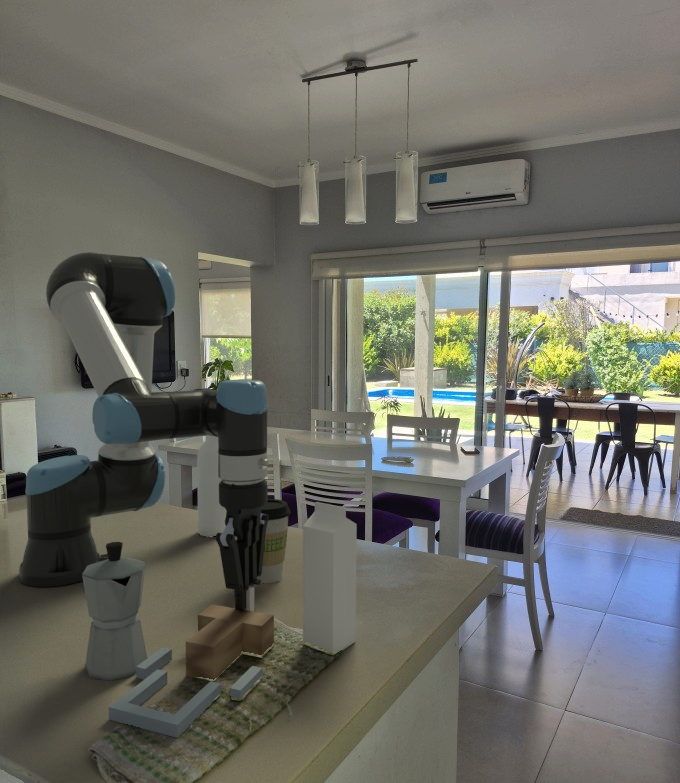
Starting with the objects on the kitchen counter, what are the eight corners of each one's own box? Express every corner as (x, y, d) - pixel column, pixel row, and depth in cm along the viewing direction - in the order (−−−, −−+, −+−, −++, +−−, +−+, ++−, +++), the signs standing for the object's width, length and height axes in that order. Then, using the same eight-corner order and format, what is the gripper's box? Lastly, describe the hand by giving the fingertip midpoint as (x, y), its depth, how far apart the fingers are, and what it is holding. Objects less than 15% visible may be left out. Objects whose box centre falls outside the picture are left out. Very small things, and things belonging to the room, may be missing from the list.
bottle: (218, 526, 159) (217, 410, 156) (236, 532, 153) (235, 412, 151) (191, 532, 153) (189, 412, 151) (209, 539, 147) (207, 415, 145)
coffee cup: (282, 589, 117) (282, 511, 116) (234, 584, 119) (233, 508, 118) (296, 570, 127) (296, 499, 126) (251, 567, 129) (250, 496, 128)
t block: (166, 671, 87) (165, 637, 87) (212, 634, 99) (211, 604, 98) (234, 686, 84) (234, 651, 83) (274, 646, 95) (273, 615, 94)
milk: (326, 631, 100) (326, 497, 99) (356, 642, 96) (357, 503, 95) (302, 645, 95) (302, 505, 94) (333, 657, 92) (333, 511, 90)
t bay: (88, 713, 77) (87, 701, 77) (162, 657, 91) (162, 647, 91) (201, 744, 71) (200, 731, 71) (262, 679, 86) (262, 667, 85)
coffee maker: (160, 675, 86) (157, 550, 85) (94, 694, 82) (90, 562, 80) (132, 634, 99) (130, 524, 98) (73, 648, 94) (70, 533, 93)
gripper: (244, 490, 88) (245, 649, 90) (283, 473, 100) (284, 613, 102) (199, 486, 91) (201, 641, 92) (242, 469, 103) (244, 606, 105)
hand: (244, 626), depth 97 cm, fingers closed
